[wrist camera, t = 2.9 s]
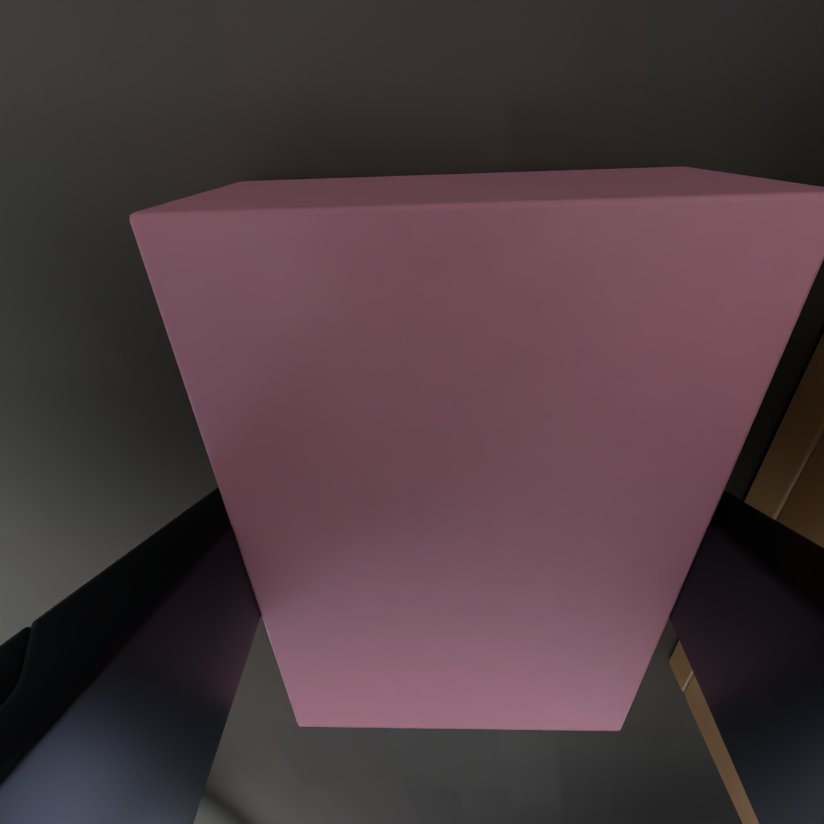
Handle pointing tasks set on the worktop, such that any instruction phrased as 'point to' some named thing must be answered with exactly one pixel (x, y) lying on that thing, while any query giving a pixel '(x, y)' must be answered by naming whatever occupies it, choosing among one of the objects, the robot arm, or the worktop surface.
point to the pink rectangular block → (477, 418)
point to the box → (791, 506)
